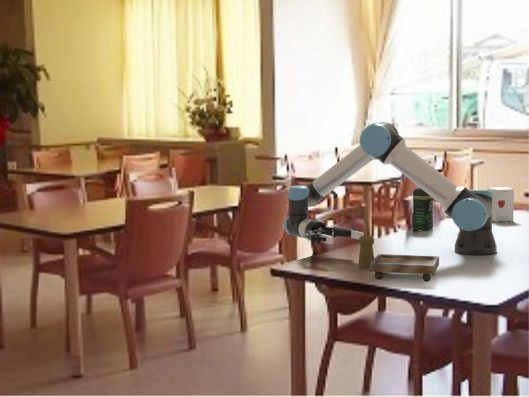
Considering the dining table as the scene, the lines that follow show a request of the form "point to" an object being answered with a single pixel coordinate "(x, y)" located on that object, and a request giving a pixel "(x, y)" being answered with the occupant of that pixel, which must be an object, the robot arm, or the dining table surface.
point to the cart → (404, 265)
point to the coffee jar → (422, 210)
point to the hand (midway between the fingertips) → (348, 238)
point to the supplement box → (502, 203)
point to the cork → (365, 251)
